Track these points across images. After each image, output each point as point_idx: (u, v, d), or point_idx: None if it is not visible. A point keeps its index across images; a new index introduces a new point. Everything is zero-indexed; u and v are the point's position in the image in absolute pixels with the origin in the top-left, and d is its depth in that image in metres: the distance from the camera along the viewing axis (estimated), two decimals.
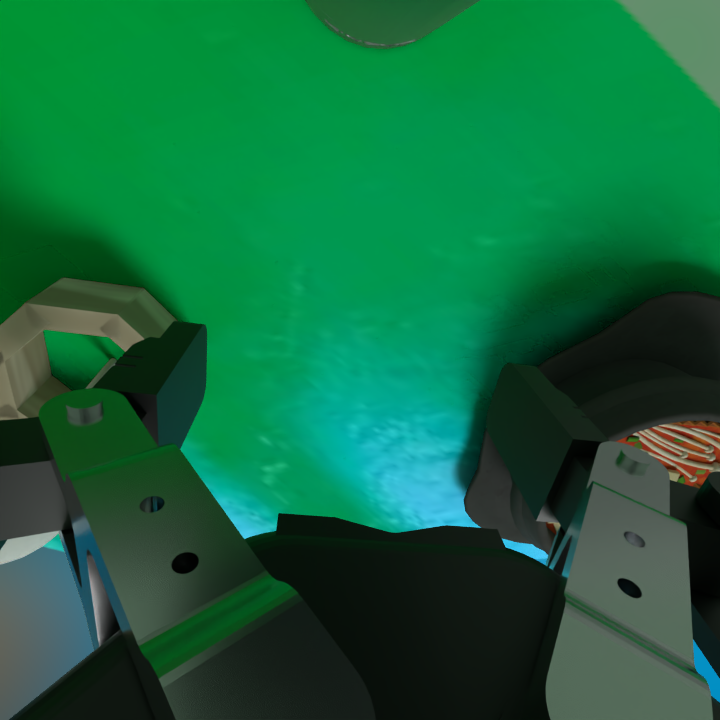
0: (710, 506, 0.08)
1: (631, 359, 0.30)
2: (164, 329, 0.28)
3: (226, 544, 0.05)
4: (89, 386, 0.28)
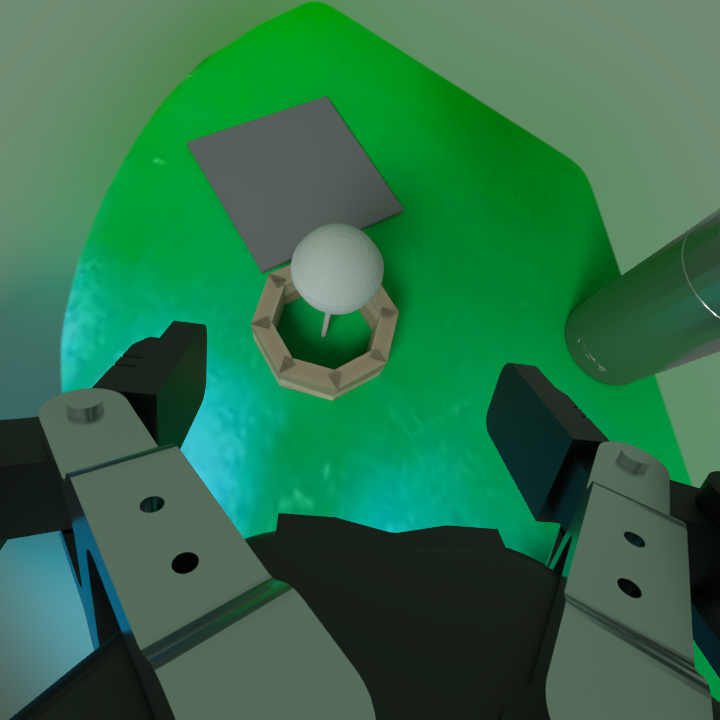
0: (710, 506, 0.08)
1: None
2: None
3: (226, 545, 0.05)
4: None
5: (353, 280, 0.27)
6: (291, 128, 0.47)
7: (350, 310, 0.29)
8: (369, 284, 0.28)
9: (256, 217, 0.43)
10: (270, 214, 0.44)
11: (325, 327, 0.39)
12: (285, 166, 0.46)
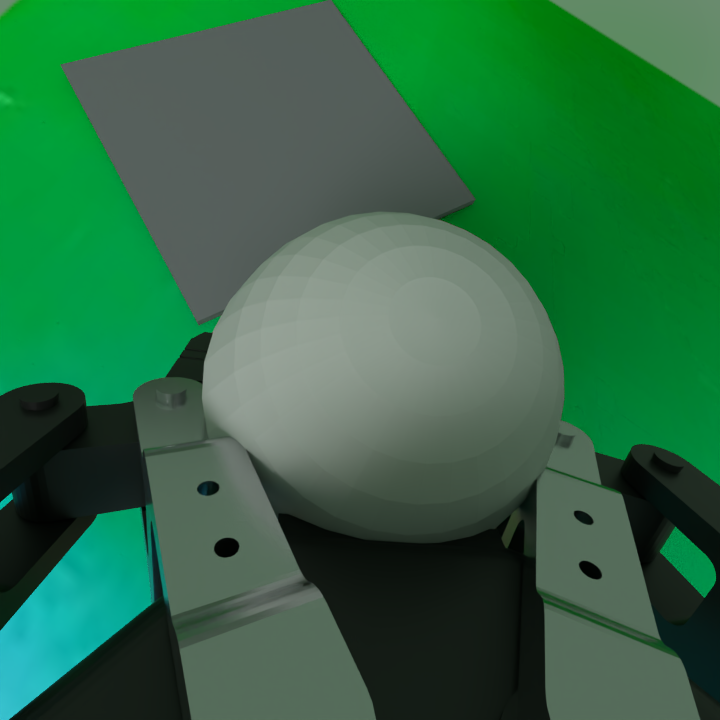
0: (636, 481, 0.08)
1: None
2: None
3: (266, 537, 0.05)
4: None
5: (484, 484, 0.06)
6: (266, 49, 0.26)
7: None
8: (536, 476, 0.06)
9: (190, 210, 0.22)
10: (219, 204, 0.22)
11: None
12: (253, 115, 0.24)
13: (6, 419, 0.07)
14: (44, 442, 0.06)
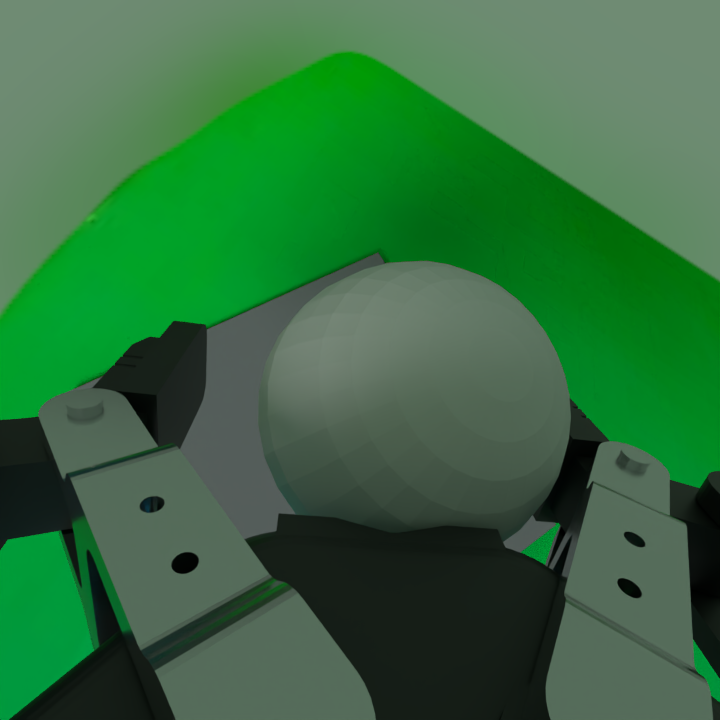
0: (710, 506, 0.08)
1: None
2: None
3: (225, 546, 0.05)
4: None
5: (526, 498, 0.07)
6: None
7: None
8: (549, 491, 0.08)
9: None
10: None
11: None
12: None
13: None
14: None
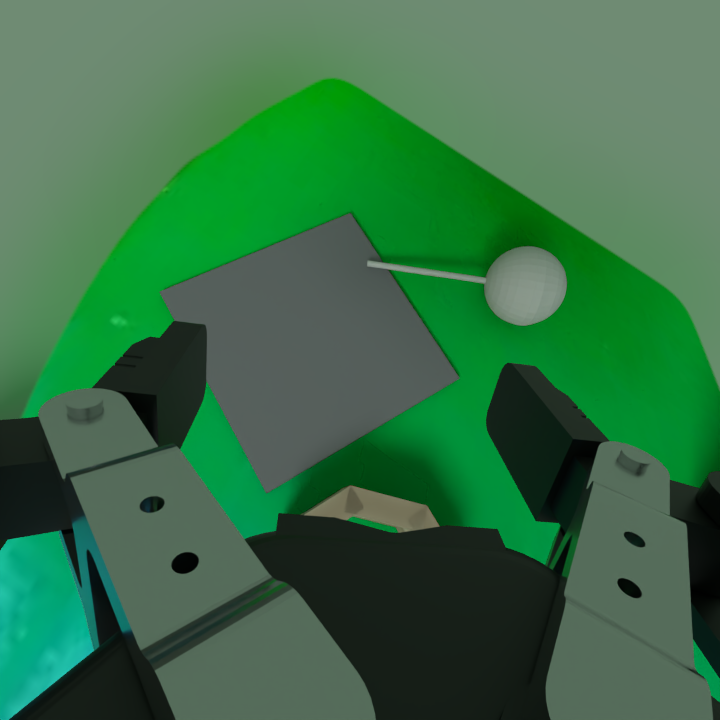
0: (710, 506, 0.08)
1: None
2: None
3: (225, 546, 0.05)
4: None
5: None
6: (304, 263, 0.35)
7: None
8: None
9: (257, 405, 0.30)
10: (277, 398, 0.31)
11: (397, 270, 0.35)
12: (297, 321, 0.33)
13: None
14: None
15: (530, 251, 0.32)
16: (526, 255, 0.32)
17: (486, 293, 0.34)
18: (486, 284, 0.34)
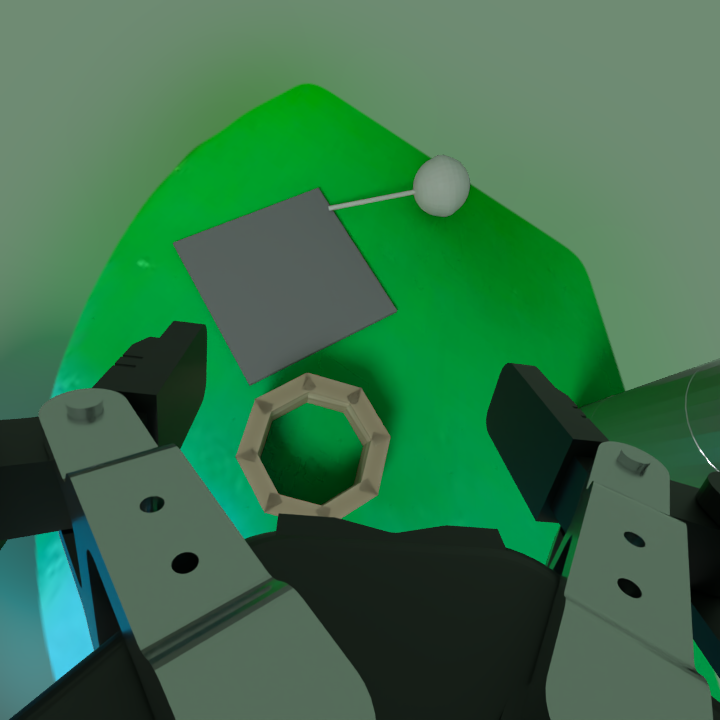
0: (710, 506, 0.08)
1: None
2: None
3: (225, 545, 0.05)
4: (361, 204, 0.47)
5: (466, 176, 0.45)
6: (281, 224, 0.46)
7: (445, 175, 0.44)
8: (462, 187, 0.45)
9: (244, 324, 0.42)
10: (258, 320, 0.42)
11: (351, 202, 0.47)
12: (275, 266, 0.44)
13: None
14: None
15: None
16: None
17: (415, 181, 0.47)
18: (413, 186, 0.47)
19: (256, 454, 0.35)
